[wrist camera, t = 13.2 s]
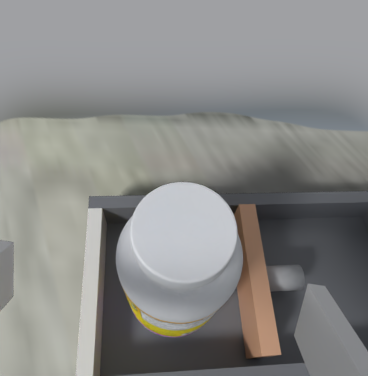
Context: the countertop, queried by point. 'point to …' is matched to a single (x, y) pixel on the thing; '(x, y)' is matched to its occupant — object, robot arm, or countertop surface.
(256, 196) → the grey shallow box
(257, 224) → the lane pusher
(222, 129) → the countertop surface
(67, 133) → the countertop surface
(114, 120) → the countertop surface
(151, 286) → the supplement bottle
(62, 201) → the countertop surface
